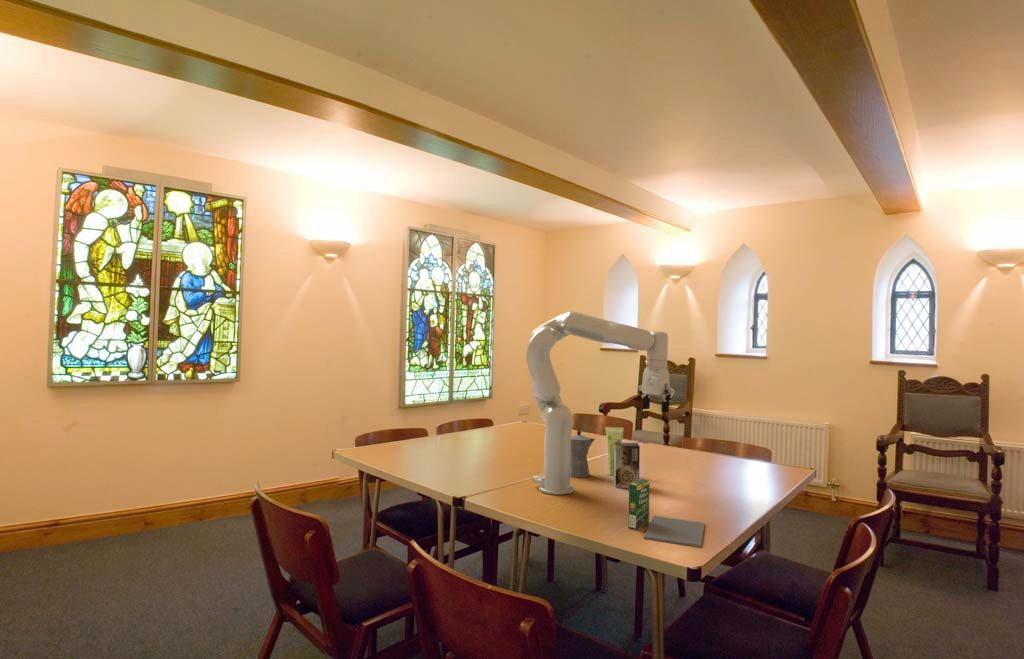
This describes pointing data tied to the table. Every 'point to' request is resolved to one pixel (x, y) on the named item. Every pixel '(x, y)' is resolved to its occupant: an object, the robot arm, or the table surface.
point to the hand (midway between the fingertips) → (655, 410)
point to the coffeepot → (579, 455)
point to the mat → (675, 531)
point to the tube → (612, 445)
